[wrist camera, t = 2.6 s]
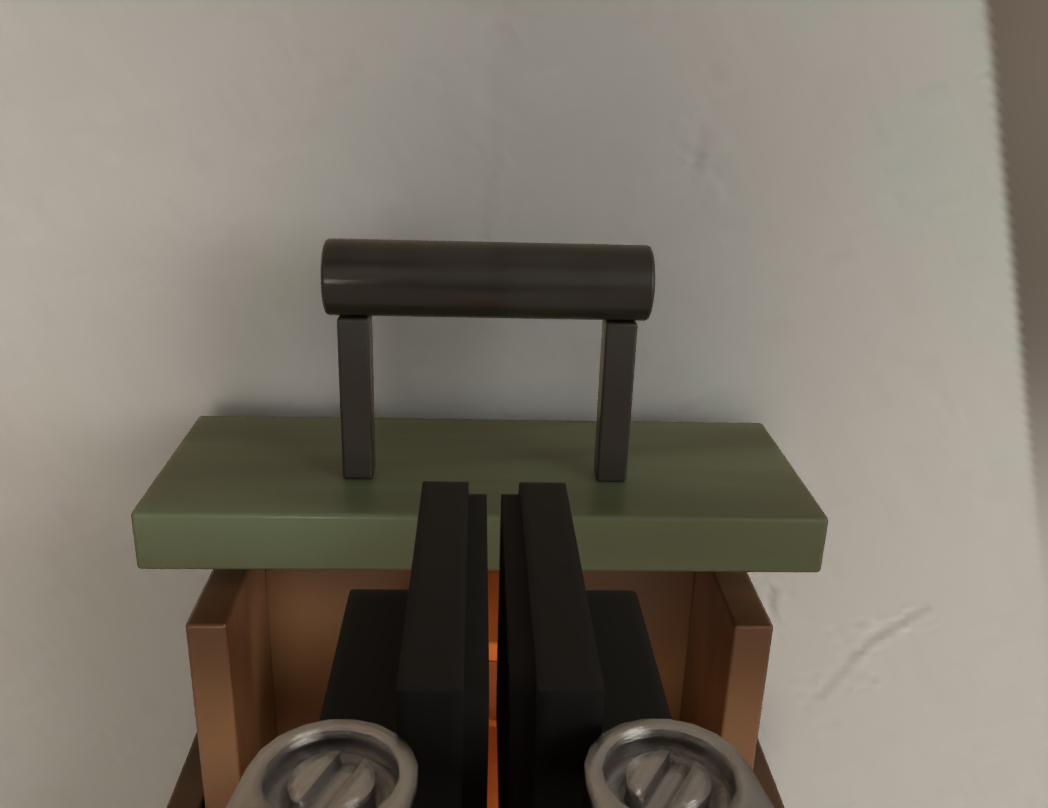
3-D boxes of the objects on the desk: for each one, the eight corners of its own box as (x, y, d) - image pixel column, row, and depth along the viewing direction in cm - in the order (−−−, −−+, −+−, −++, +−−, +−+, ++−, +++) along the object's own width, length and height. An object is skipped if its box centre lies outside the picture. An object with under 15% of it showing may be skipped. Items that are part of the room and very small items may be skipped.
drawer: (179, 205, 21) (95, 256, 16) (787, 219, 21) (870, 272, 17) (241, 870, 27) (194, 1037, 23) (706, 866, 28) (749, 1028, 23)
